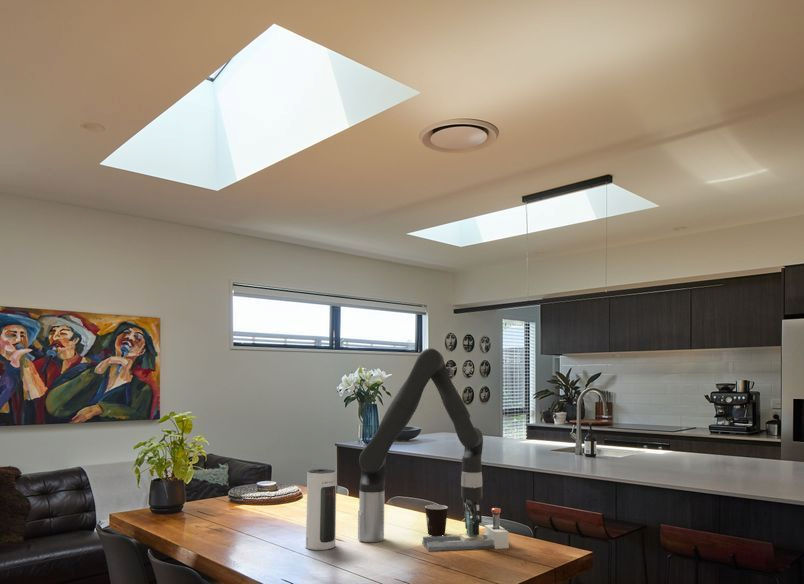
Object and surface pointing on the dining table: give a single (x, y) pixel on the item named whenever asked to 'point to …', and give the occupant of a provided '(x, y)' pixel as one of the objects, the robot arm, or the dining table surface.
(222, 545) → the dining table surface
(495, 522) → the gauge plunger
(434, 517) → the coffee mug
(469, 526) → the carriage
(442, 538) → the rail bed
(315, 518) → the speaker
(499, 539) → the end cabinet
